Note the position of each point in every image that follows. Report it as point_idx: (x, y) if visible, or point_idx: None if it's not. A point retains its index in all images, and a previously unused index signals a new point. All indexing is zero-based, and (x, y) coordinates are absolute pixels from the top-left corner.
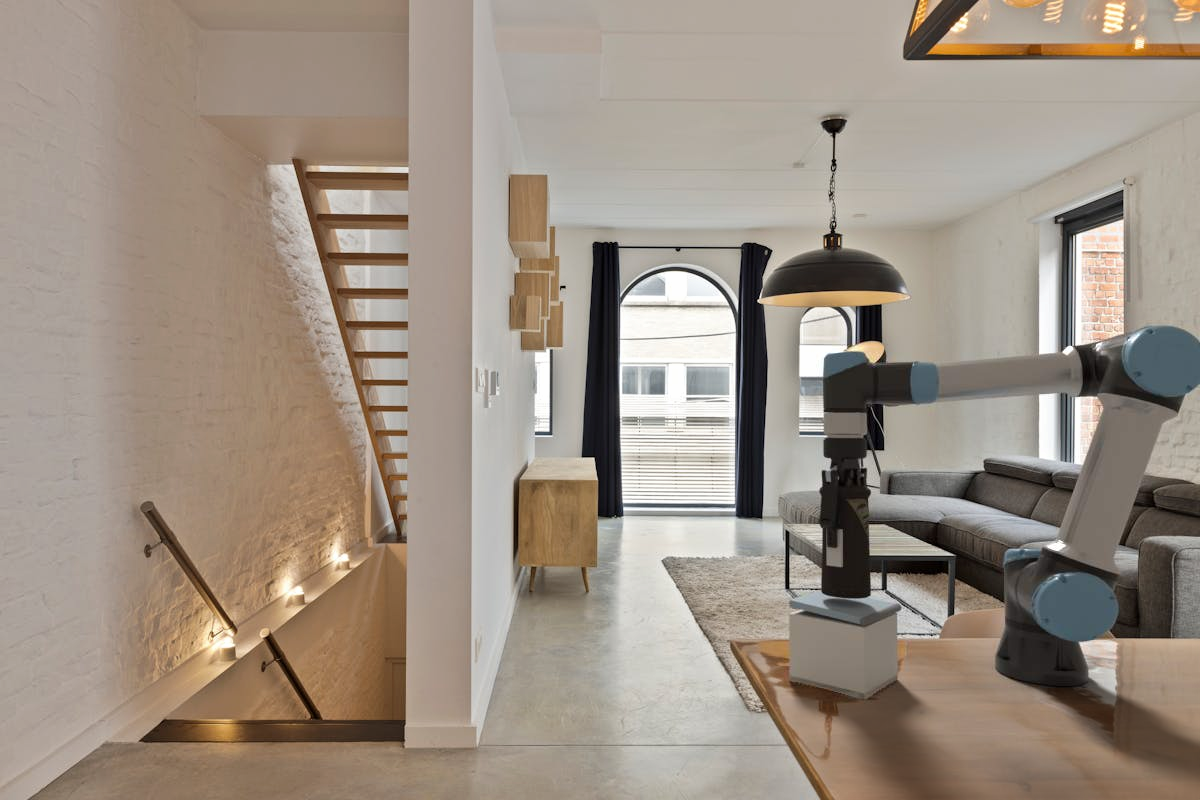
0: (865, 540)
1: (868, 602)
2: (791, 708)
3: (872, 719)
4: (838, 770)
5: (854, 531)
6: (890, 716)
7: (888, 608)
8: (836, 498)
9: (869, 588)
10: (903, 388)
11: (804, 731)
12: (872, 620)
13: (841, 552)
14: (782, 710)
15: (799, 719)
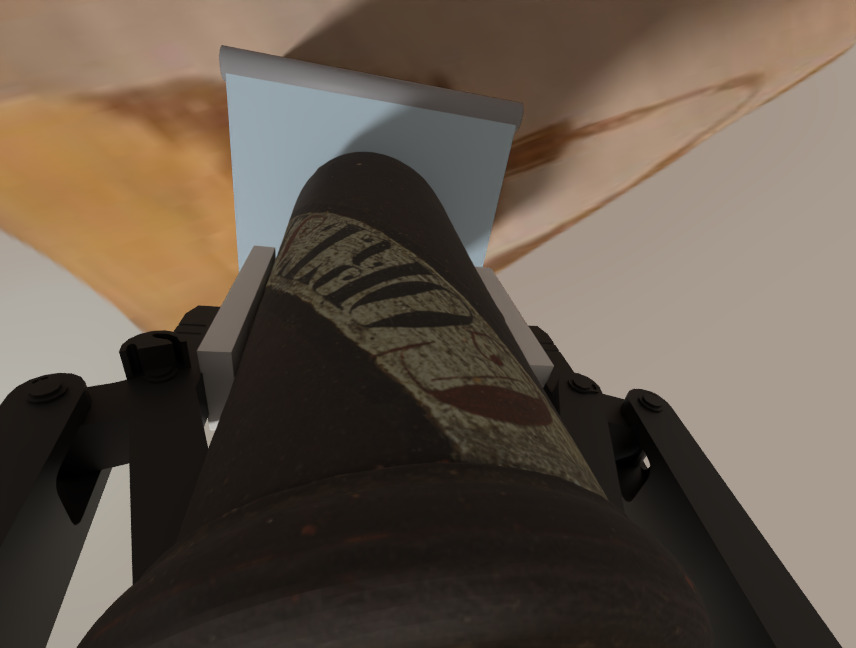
0: (417, 236)
1: (303, 167)
2: (564, 203)
3: (563, 48)
4: (803, 40)
5: (495, 308)
6: (532, 14)
7: (330, 77)
8: (743, 568)
9: (370, 157)
10: None
11: (658, 147)
12: (487, 96)
13: (503, 297)
14: (579, 212)
15: (609, 173)
